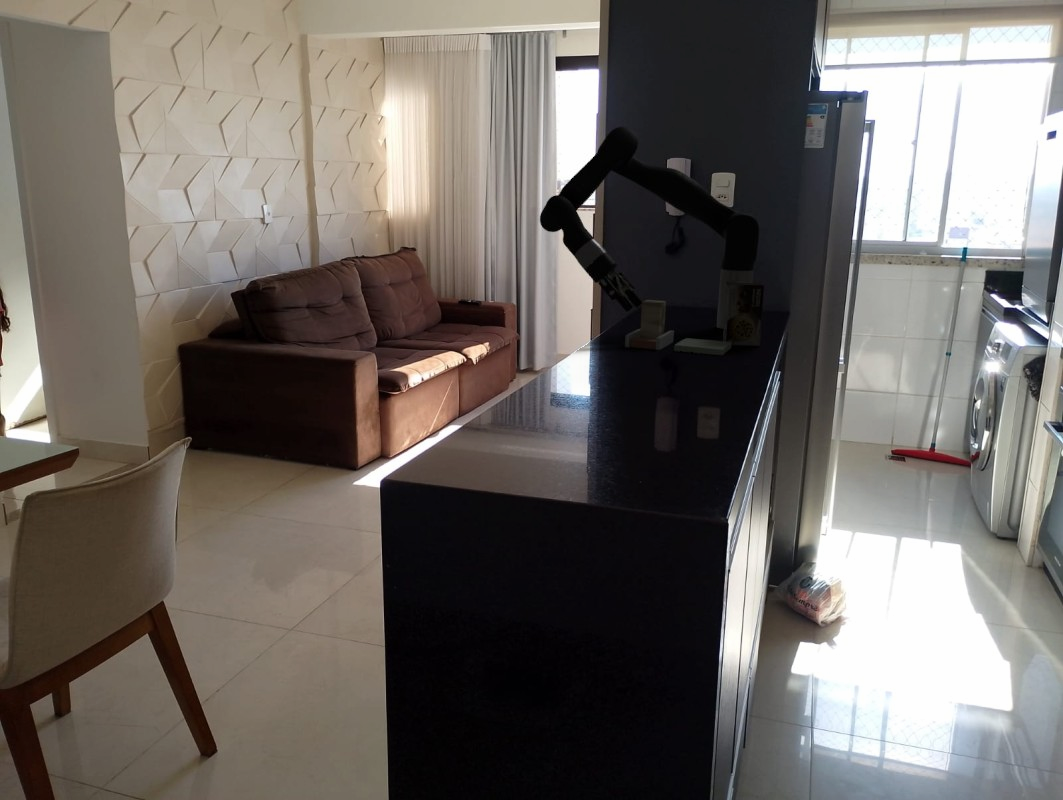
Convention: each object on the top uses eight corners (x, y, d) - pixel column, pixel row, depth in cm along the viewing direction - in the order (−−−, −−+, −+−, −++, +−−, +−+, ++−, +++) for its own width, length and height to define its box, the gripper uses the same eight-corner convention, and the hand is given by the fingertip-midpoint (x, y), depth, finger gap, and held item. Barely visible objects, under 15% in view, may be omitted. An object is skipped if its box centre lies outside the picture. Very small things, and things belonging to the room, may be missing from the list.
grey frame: (640, 338, 233) (641, 327, 232) (673, 341, 229) (673, 330, 229) (625, 346, 220) (625, 335, 219) (659, 350, 217) (660, 338, 216)
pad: (685, 343, 227) (685, 338, 227) (731, 347, 222) (731, 342, 222) (674, 350, 216) (674, 345, 216) (722, 355, 212) (722, 349, 211)
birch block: (645, 341, 230) (647, 299, 227) (663, 342, 228) (666, 301, 225) (639, 343, 225) (642, 301, 223) (658, 345, 223) (661, 303, 221)
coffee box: (756, 342, 232) (761, 282, 228) (760, 346, 226) (765, 284, 222) (721, 341, 233) (726, 280, 229) (724, 345, 227) (729, 283, 223)
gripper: (594, 268, 235) (633, 313, 234) (576, 272, 223) (616, 320, 221) (614, 249, 232) (653, 295, 230) (596, 252, 219) (637, 301, 218)
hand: (635, 307), depth 226 cm, fingers open, 8 cm apart
